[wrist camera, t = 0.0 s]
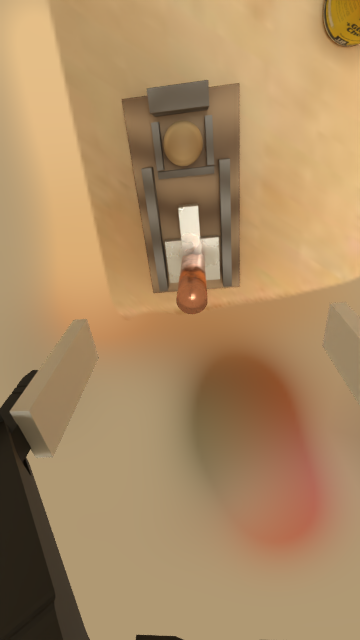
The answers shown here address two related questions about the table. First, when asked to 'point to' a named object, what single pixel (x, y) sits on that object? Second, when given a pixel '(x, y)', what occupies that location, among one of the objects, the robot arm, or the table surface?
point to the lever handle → (192, 261)
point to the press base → (187, 173)
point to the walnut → (183, 143)
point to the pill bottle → (343, 21)
